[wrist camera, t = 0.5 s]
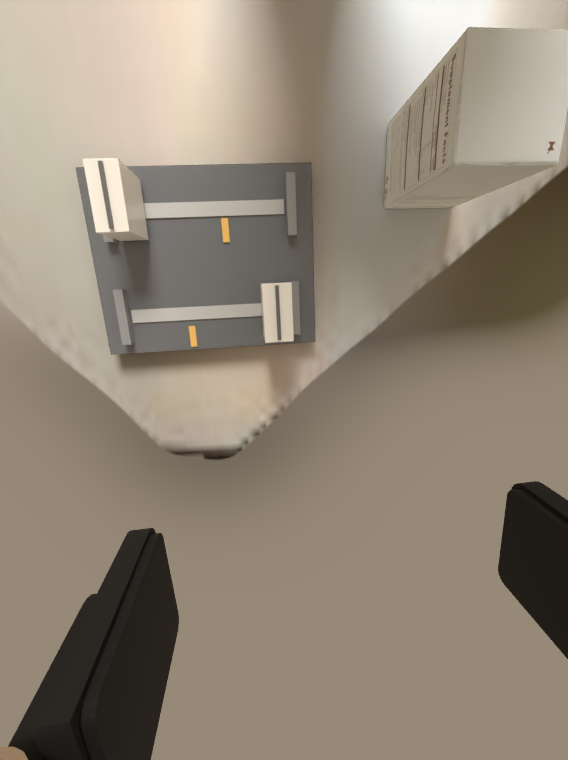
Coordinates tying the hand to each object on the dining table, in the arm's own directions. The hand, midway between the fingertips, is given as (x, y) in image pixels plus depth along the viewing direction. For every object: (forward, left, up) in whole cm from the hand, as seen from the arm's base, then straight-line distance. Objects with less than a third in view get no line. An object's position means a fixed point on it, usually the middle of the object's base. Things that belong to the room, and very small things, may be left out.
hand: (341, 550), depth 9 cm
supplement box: (-17, +15, -29) cm, 37 cm away
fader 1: (-14, -12, -26) cm, 32 cm away
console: (-9, -6, -28) cm, 30 cm away
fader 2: (-5, 0, -26) cm, 26 cm away
